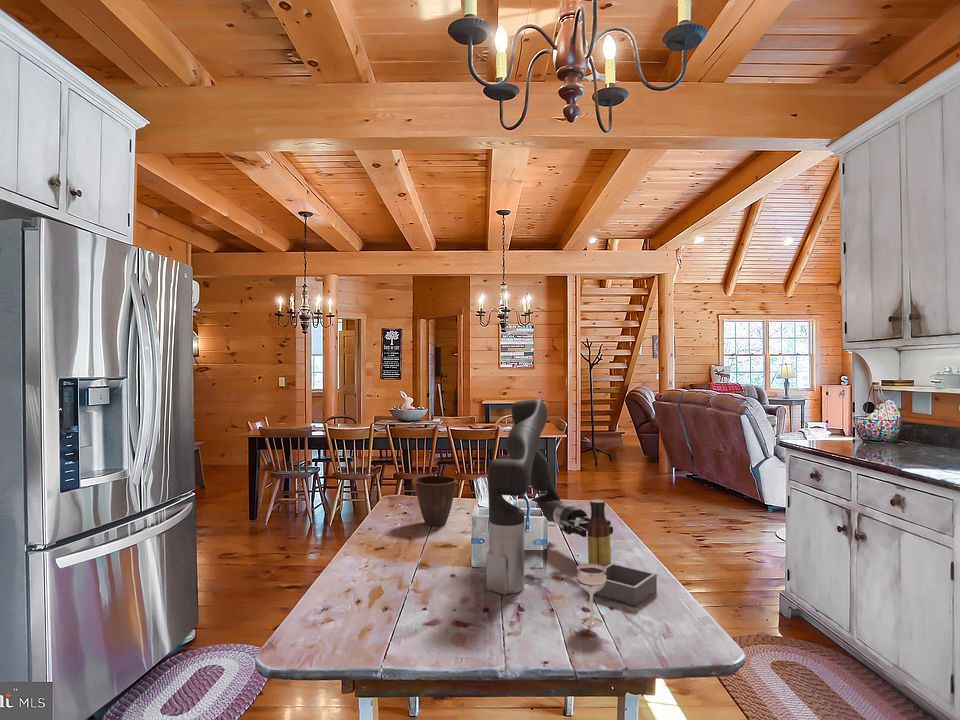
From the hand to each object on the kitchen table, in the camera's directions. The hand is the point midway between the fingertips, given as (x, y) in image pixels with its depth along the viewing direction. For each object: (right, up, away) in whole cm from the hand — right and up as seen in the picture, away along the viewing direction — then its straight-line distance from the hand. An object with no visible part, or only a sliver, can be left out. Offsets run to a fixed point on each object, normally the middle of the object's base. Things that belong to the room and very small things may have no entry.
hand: (598, 532), depth 167 cm
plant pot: (-49, -11, +48) cm, 70 cm away
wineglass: (-8, -11, -32) cm, 35 cm away
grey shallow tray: (+3, -11, -16) cm, 19 cm away
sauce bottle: (0, -11, 0) cm, 11 cm away
